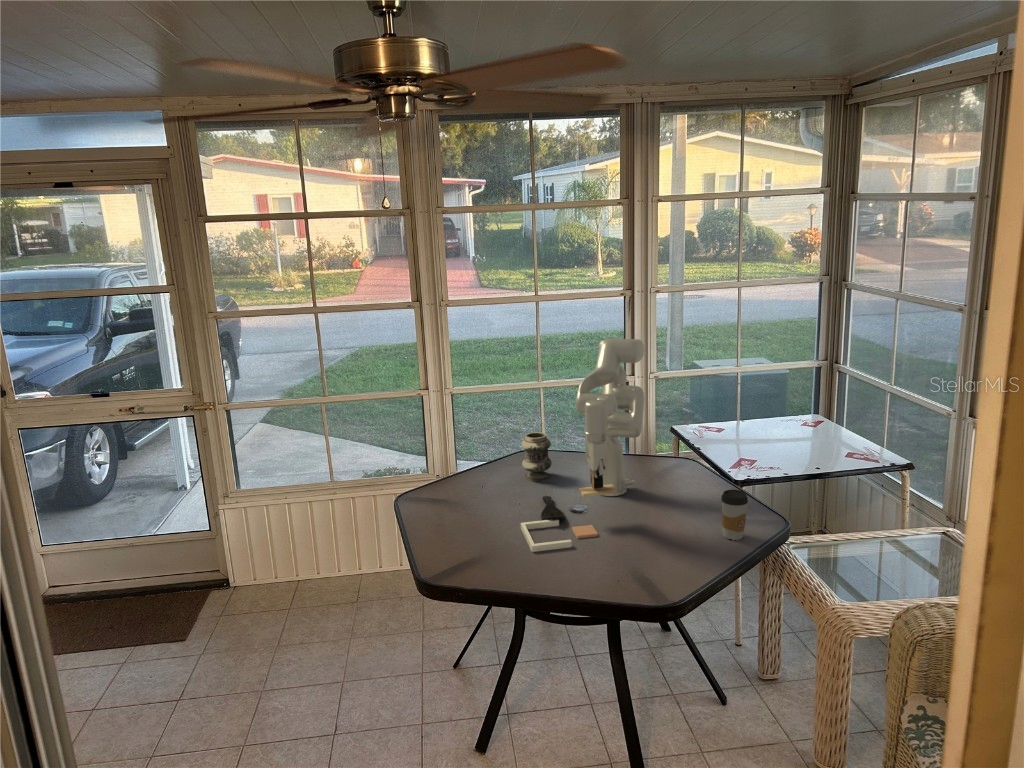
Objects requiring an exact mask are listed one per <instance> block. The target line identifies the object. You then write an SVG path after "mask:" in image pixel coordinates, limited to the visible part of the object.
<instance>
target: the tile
mask: <svg viewBox="0 0 1024 768" xmlns="http://www.w3.org/2000/svg"><path fill="white" fill-rule="evenodd" d="M571 530H572V531H573V534H574V535H575V537H576V539H578V540H579V539H589V538H596V537H599V534H598V532H597V530H596V529H595V527H594V526H593V525H592V524H588V525H580V526H579V525H577V526H572V527H571Z"/></svg>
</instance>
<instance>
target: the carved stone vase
mask: <svg viewBox="0 0 1024 768" xmlns="http://www.w3.org/2000/svg"><path fill="white" fill-rule="evenodd" d="M524 437H525V438H524V440H522V441H521V447H522V449H524V459H523V461H522V462H521V463H522V464H521V466H522V468H523V469H524V470H525V471H527V473H526V474H525V475H524V476H525V478H526V479H527V480H529V481H532V482H538V481H539V482H540V481H545V480H547V479H549V478H550V474H549V473H548V472H547V470H549V469H550V468H551V467H552V465H553V464H552V459H550V457H549V448H550V447H551V445H552V444H551V443H552V442H551V440H549V438H547V434H546V433H544V432H542V431H541V432H540V431H534V432H528V433H526V434H525V436H524Z"/></svg>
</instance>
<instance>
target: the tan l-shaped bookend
mask: <svg viewBox="0 0 1024 768" xmlns="http://www.w3.org/2000/svg"><path fill="white" fill-rule="evenodd" d="M597 469H598V468H597ZM598 472H599V471H597V473H598ZM591 476H592V484H591V486H586V487H579V488H578V492H579V493H580V495H581V496H582V497H583V498H589V497H595V496H596V497H597V496H604V495H606V494H614V493H617V490H616V488H615V487H614V486H613V485H612V484H610V485H603V488H596V489H595V488H594V477H595V472H594V471H592V470H591V472H590V477H591Z"/></svg>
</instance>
